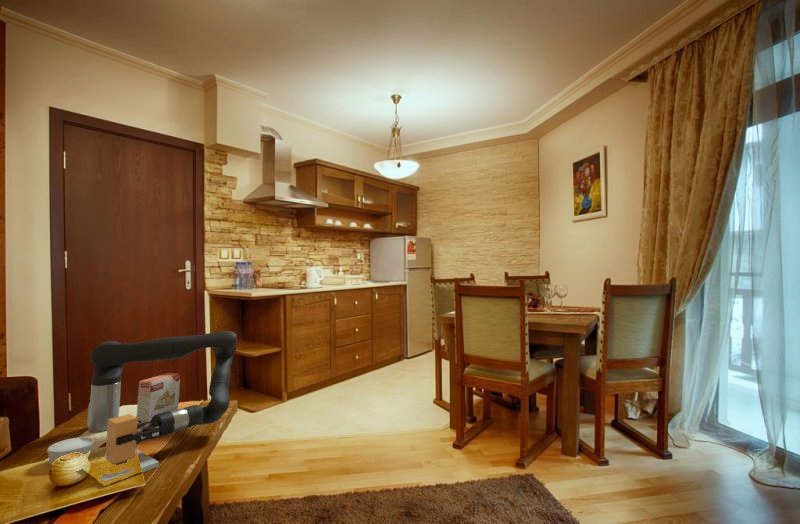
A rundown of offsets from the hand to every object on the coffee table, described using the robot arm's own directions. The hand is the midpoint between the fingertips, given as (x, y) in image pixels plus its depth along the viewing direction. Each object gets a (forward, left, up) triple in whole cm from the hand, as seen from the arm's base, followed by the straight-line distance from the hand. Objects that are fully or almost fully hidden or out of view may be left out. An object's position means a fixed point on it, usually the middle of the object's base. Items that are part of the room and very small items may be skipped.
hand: (112, 439), depth 114 cm
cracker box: (-13, +26, -10) cm, 31 cm away
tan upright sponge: (+1, +2, -7) cm, 7 cm away
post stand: (+1, +2, -9) cm, 10 cm away
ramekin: (-18, 0, -10) cm, 21 cm away
